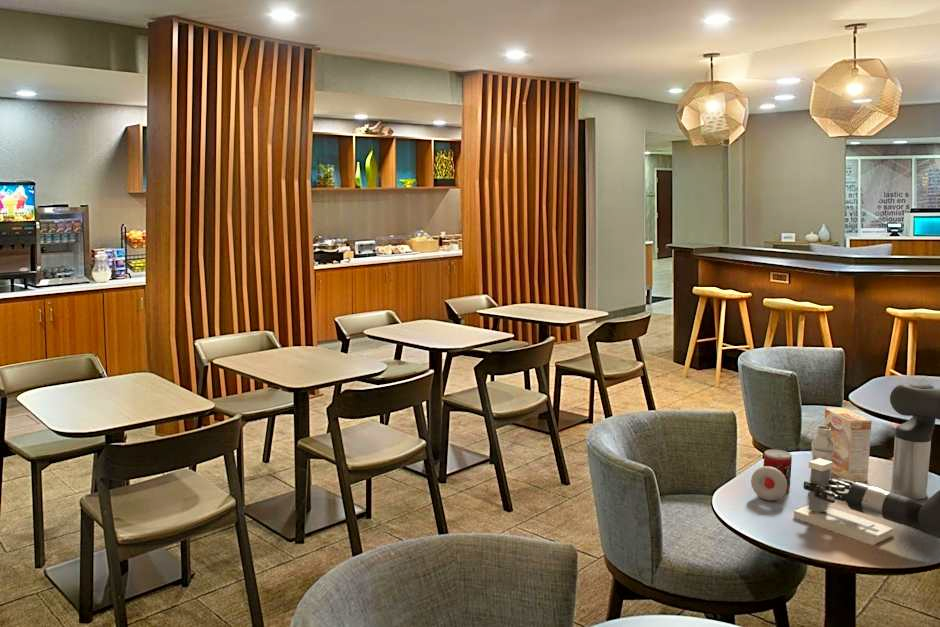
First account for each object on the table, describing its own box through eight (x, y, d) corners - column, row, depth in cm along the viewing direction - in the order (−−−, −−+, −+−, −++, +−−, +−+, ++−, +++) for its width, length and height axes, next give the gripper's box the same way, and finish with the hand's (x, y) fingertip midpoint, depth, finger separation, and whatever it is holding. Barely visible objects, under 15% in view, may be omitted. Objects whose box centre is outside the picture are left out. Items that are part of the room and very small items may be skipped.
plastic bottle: (827, 489, 244) (831, 424, 241) (835, 497, 237) (839, 431, 234) (805, 488, 244) (809, 424, 241) (812, 497, 238) (816, 430, 235)
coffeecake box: (820, 466, 264) (824, 408, 262) (841, 465, 265) (845, 407, 262) (846, 482, 250) (850, 420, 247) (868, 481, 250) (872, 420, 248)
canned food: (777, 495, 239) (779, 459, 238) (756, 486, 246) (758, 451, 245) (795, 490, 243) (797, 455, 241) (774, 482, 250) (776, 447, 248)
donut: (787, 501, 234) (789, 468, 233) (784, 505, 231) (786, 471, 230) (751, 494, 240) (753, 462, 238) (748, 498, 237) (750, 465, 235)
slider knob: (816, 505, 225) (819, 458, 223) (829, 509, 222) (833, 461, 220) (806, 509, 222) (808, 461, 220) (819, 514, 219) (822, 465, 217)
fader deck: (814, 509, 228) (814, 502, 228) (892, 535, 211) (893, 527, 210) (793, 517, 222) (794, 510, 222) (872, 545, 205) (873, 537, 205)
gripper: (886, 480, 213) (826, 463, 226) (857, 492, 205) (796, 474, 218) (884, 508, 214) (824, 489, 228) (855, 521, 206) (795, 501, 219)
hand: (811, 482), depth 223 cm, fingers open, 6 cm apart
